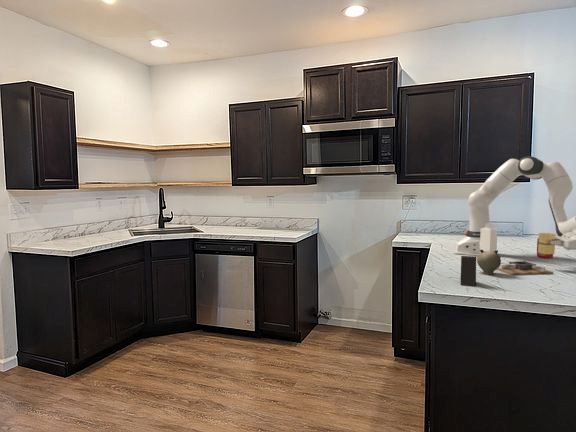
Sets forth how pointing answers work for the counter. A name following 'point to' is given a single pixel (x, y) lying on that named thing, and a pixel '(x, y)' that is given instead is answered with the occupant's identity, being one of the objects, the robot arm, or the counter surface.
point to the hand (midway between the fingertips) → (545, 241)
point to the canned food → (543, 254)
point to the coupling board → (522, 268)
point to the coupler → (546, 243)
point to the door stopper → (468, 270)
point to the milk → (488, 238)
